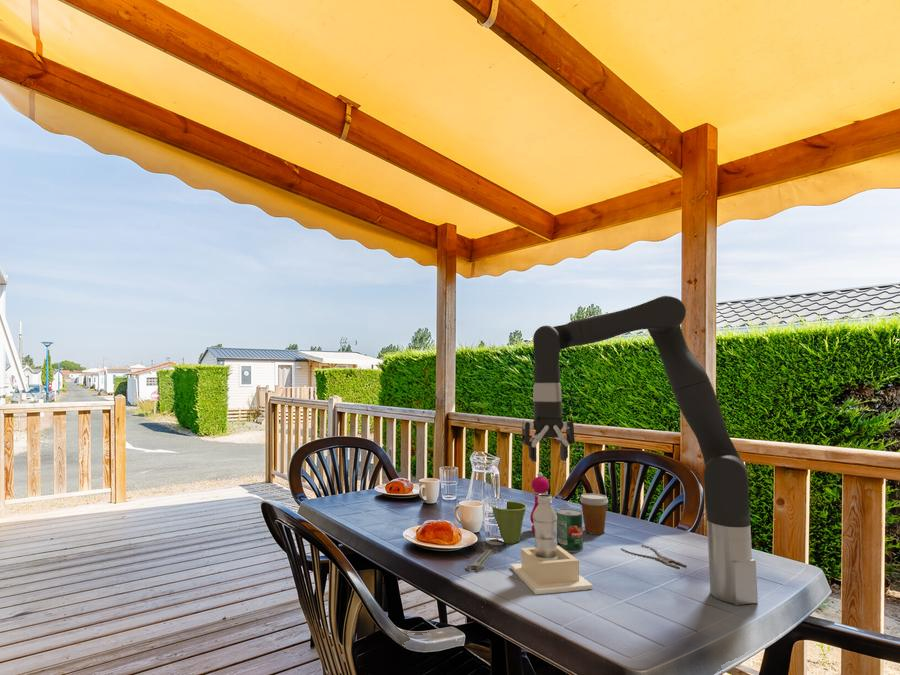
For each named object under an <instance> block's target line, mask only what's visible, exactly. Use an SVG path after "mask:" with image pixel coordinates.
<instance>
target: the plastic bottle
mask: <svg viewBox="0 0 900 675" xmlns="http://www.w3.org/2000/svg"><path fill="white" fill-rule="evenodd" d="M552 499H553V497H552V495H551V494H548V493H547V494H540V495H538V501H537V502H538V503H539V504H538V506H537V507H536V509H535V511H534V513H533V522H534V529H535V533H534V537H535V540H534V542H535V544H534V547H535V556H536V557H537V558H538V559H540V560H541V561H550V560H558V557H557V551H556V546H557V514H556V510H555V508H554V507H553V506H552V504H553V500H552Z"/></svg>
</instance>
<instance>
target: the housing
mask: <svg viewBox="0 0 900 675" xmlns="http://www.w3.org/2000/svg"><path fill="white" fill-rule="evenodd" d="M556 551H557V557H558V560H550V561H541V560H540V559H538V558H537V557H536V556H535V546H534V547H533V546H532V547H521V549H520V554H521V556H520V558H521V560H520V563H510V569H511V570H512V571H513V572H514V573H515V575H517V577H519V579H520V580H521V581H522V582H524V584H525V585H526V586H527V587H528V588H529V589H530V590H531V591H532V592H533V593H534V595H546V593H547V594H554V593H557V594H558V593H565V592H576V591H577V592H579V591H586V590H588V589H589V590H593V583H591V582H589V581H588V580H587V579H586V578H584V577H583V576H582V575H580V559H578V558H577V557H575V556H573V555H572V554H571V553H570V552H567V551H565V550H564V549H563V548H561V547H560V546H557V545H556Z"/></svg>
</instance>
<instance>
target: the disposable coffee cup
mask: <svg viewBox="0 0 900 675" xmlns="http://www.w3.org/2000/svg"><path fill="white" fill-rule="evenodd" d="M579 501H580V504H581V510H582V511H581V512H582V520H583V523H584V531H586V532H585V533H587V532H588V533H587V534H589V533H592V534H591V535H603V534H605V526H606V517H607V505H608V503H609V500H608V497H607V495H605V494H602V493H583V494H581V495H580V498H579ZM602 533H603V534H602Z"/></svg>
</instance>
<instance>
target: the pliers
mask: <svg viewBox="0 0 900 675" xmlns="http://www.w3.org/2000/svg"><path fill="white" fill-rule="evenodd" d="M641 545H642V546H641V547H643V546H645V547H644V548H646V547H647V548H646V549H648V548H650V549H649V550H651V551H652V550H653V552H654V554H655V555H656V554H657V557H656V556H651V555H647V554H640V553H637V552H632V551H629V550H626V549H624V548H620V550H621V549H622V550H623V552H624V551H625V552H624V553H627V552H628V553H627V554H629V553H631V554H630V555H633V554H634V555H633V556H636V555H638V557H641V556H642V558H646V557H647V558H646V559H650V560H651V559H652V560H654V559H655V561H658V562H659V563H663V564H664V563H665V564H664V565H666V566H668V567H671V568H675V569H678V570H680V569H681V568H680V566H681V567H683V568H686V567H687V568H688V566H687V565H686V564H683V563H682V562H679V561H677V560H674V559H673V558H669V557H667V556H663V555H662V554H661V553H660V552H658V551H657V550H656V549H654V548H653V547H651V546H649V545H644V544H641ZM622 550H621V551H622ZM659 557H660V558H659ZM669 562H670V563H669ZM676 564H677V565H676Z"/></svg>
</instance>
